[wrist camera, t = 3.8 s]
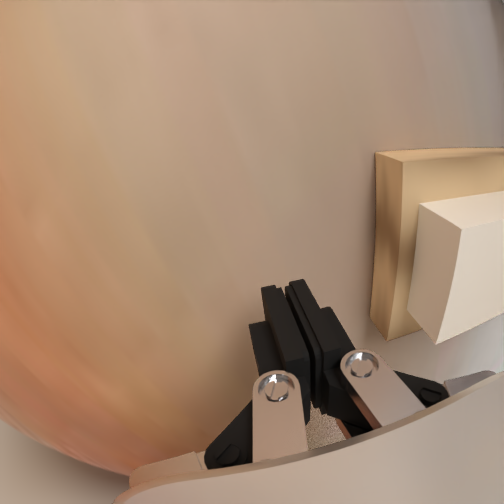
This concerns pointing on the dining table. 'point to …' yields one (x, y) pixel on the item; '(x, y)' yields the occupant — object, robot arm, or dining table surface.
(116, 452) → the dining table surface
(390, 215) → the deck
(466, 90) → the dining table surface
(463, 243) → the cream rectangular block
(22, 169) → the dining table surface
